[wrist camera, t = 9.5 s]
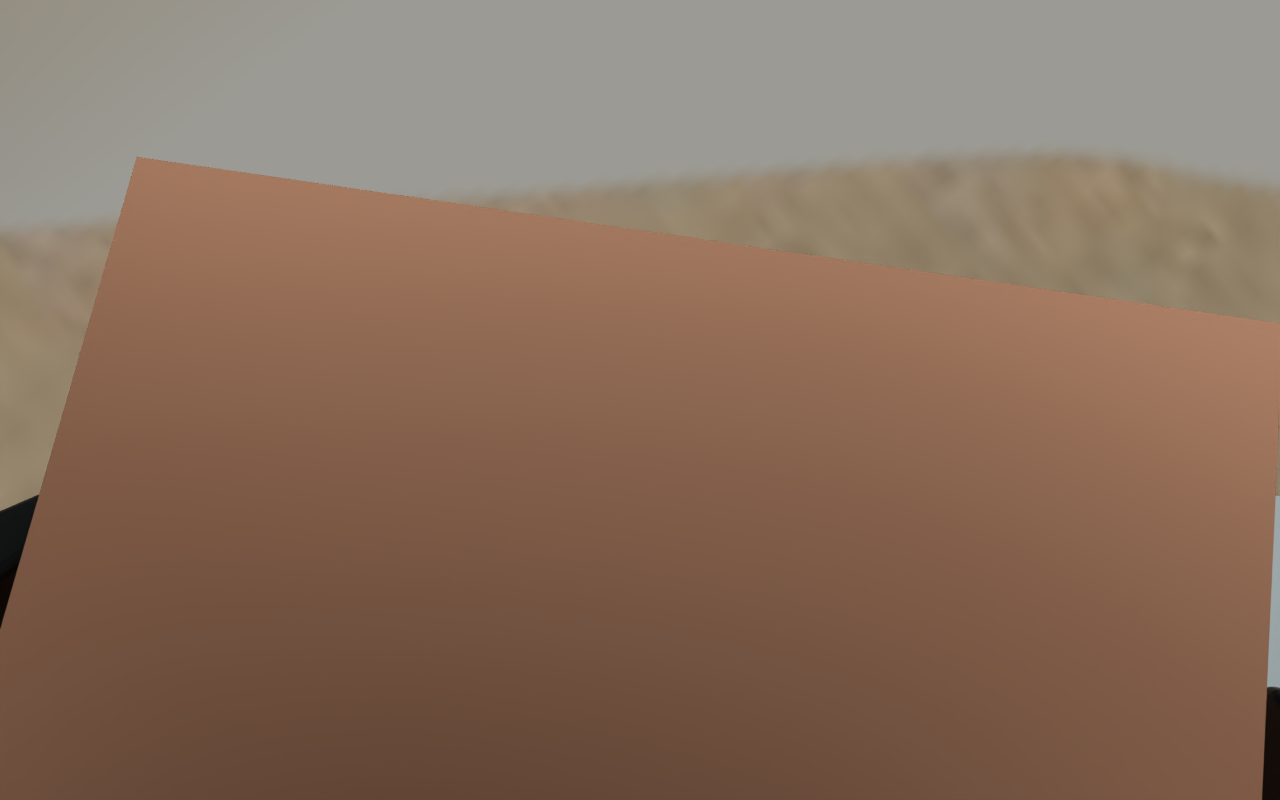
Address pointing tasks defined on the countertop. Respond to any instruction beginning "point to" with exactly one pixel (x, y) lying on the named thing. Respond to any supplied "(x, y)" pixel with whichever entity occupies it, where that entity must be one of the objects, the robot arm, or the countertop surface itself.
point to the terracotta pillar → (628, 521)
